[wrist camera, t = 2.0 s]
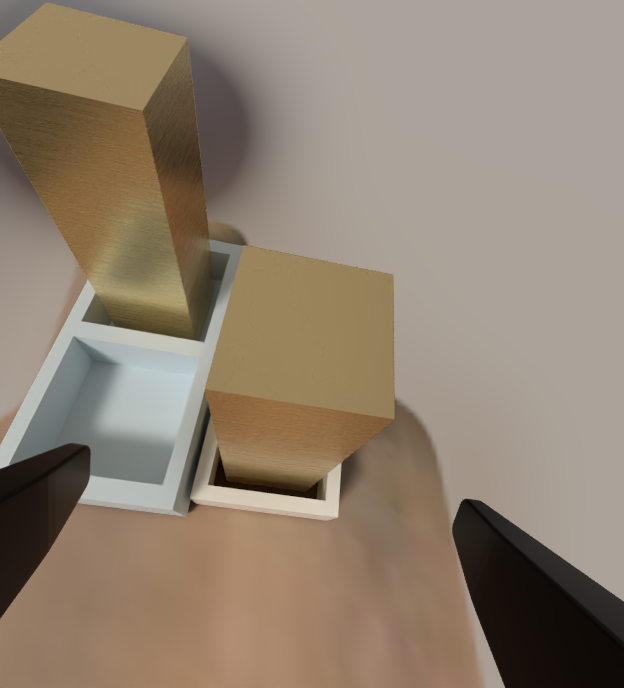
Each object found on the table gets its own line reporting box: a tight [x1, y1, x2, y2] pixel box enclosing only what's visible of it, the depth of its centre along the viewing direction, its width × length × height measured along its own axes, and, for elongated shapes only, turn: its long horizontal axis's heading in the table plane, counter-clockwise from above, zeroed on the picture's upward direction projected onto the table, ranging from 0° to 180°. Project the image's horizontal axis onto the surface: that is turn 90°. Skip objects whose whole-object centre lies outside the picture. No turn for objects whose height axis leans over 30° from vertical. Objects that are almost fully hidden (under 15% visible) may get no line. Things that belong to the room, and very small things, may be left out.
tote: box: [190, 416, 341, 521], centre depth 18 cm, size 6×6×2 cm
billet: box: [205, 245, 395, 492], centre depth 14 cm, size 4×4×12 cm
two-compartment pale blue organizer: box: [0, 239, 243, 517], centre depth 18 cm, size 14×7×4 cm, turn 174°
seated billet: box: [0, 2, 215, 341], centre depth 15 cm, size 4×4×12 cm
